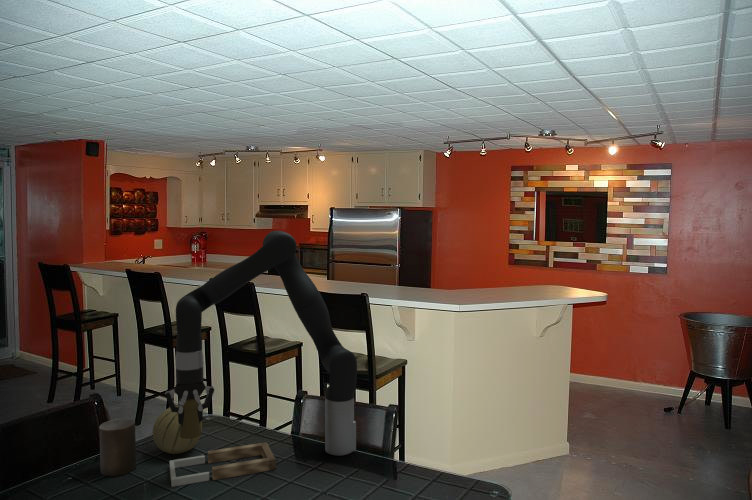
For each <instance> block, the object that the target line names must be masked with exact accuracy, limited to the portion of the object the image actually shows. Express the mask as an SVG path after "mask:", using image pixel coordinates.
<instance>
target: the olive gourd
mask: <svg viewBox="0 0 752 500" xmlns="http://www.w3.org/2000/svg"><path fill="white" fill-rule="evenodd" d="M183 402H184V401H183ZM182 407H183V413H184V419H183V425H182V426H181V431H180V437H181V438H184V439H192V438H196V437H199V436H200V435H201V436H202V432H203V431H202V432H201V425H200V423H199V418H198V407H199V404H198V402H197V401H196V400H195V399H187V400H186V402H185V403H184V405H183V406H182ZM201 436H200V437H201Z"/></svg>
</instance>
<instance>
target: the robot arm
mask: <svg viewBox="0 0 752 500" xmlns="http://www.w3.org/2000/svg"><path fill="white" fill-rule="evenodd" d="M297 246H298V245H297V241H296V239H295V237H294V236H293V235H292V234H290V233H288V232H286V231H283V230H273V231H269V232H267V234H266V235H265V236H264V238H263V241H262V246H261V247H260V248H259V249H257V251H255V252H254V253H252V254H251V255H250V256H248V257H246V258H245V259H243V260H242V261H239V262H238V263H236V264H234V265H231V266H229V267H228V268H225V269H224V270H223V271H221V272H219V273H218V274H216V275H215V276H214V277H212V278H210V279H209V280H207V281H206V282H205V283H204V284H203V285H201V286H199V287H197V288H195V289H193V290H191V291H190V292H188V293H187V294H185V295H183V296H182V297H181V298H179V300H178V301H177V303H176V306H175V322H176V323H175V325H176V326H175V327H176V339H175V340H176V343H175V344H176V352H175V387H174V388H173V389H171V390H166V391H165V393H164V394H165V398H166V400H167V403H168V406H169V408H171V411H172V412H177V413H178V423H179V424H181V426H182V425H183V419H184V413H183V407H182V406H183V405H184V403H185V402H186V400H187V399H195V400H196V401H197V402H198V404H199V407H198V418H199V423H200V421H201V422H203V420H204V417H203V411H204V410H205V409H209V407H210V405H211V401H212V398H213V395H214V393H215V388H214V386H213V385H210V386H209V385H206V384H205V383H204V363H205V362H204V355H203V354H204V353H203V336H202V321H203V320H202V319H203V318H202V315H203V314H202V313H203V312H205V311H206V310H207V309H209V308H210V307H212V306H213V305H216V304H220V302H222V301H224V300H225V299H227V298H228V297H230V296H231V295H232V294H234V293H235V292H237V291H238V290H240V289H241V288H242V287H244V286H245V285H247V284H248V283H249V282H251V281H253V280H255V278H257V277H259V276H260V275H263V274H264V273H266V272H268V271H269V270H271V269H273V268H274V269H275V270H276V272H277V273H278V274H277V275H279V277H280V279H281V281H282V284H283V287H284V289H285V291H286V293H287V296H288V299H289V301H290V302H291V305H292V306H293V309H294V311H295V313H296V315H297V316H298V318H299V320H300V322H301V323H302V325H303V327H304V329H305V330H306V332H307V333H308V335H309V337H310V338H311V340H312V341H313V343H314V345H315V349H316V351H317V354H318V356H319V358H320V361H321V364H322V366H323V368H324V369H325V371H326V372H327V373H329V379H328V381H329V382H328V386H327V387H326V388H325V392H324V395H325V396H324V400H325V401H324V404H325V405H324V409H325V410H324V411H325V412H324V422H325V423H324V424H325V425H324V440H325V441H324V448H325V449H324V450H325V452H326V453H327V454H329V455H332V456H345V455H349V454H352V453H353V452H356V451H357V421H356V420H355V392H356V389H357V377H358V361H357V358H356V355H355V354H354V353H353V352H352V351H351V350H349V349H347V348H345V347H344V346H343V345H342V343H341V342H340V340H339V339H338V336H337V335H336V334H335V331H334V330H333V327H332V322H331V318H330V313H329V309H328V307H327V304H326V302H325V301H324V298H323V296H322V295H321V292H320V291H319V289H318V287H317V286H316V284H315V283H314V282H313V281H312V279H311V277H310V276H309V275H308V273H307V272H306V271H305V270H304V268H303V267H302V265H301V263H300V261H299V258H298V257H297V254H296V253H297V248H298V247H297ZM204 391H205V394H206V397H205V398H204V402H202V401H201V399H200V398H201V396H202V395H203V393H204ZM175 395H177V397H179V402H178V403H179V404H178V405H179V406H178V405H176V404H175V402H174V400H173V399H174V397H175ZM183 401H184V402H183ZM176 406H178V407H176Z"/></svg>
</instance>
